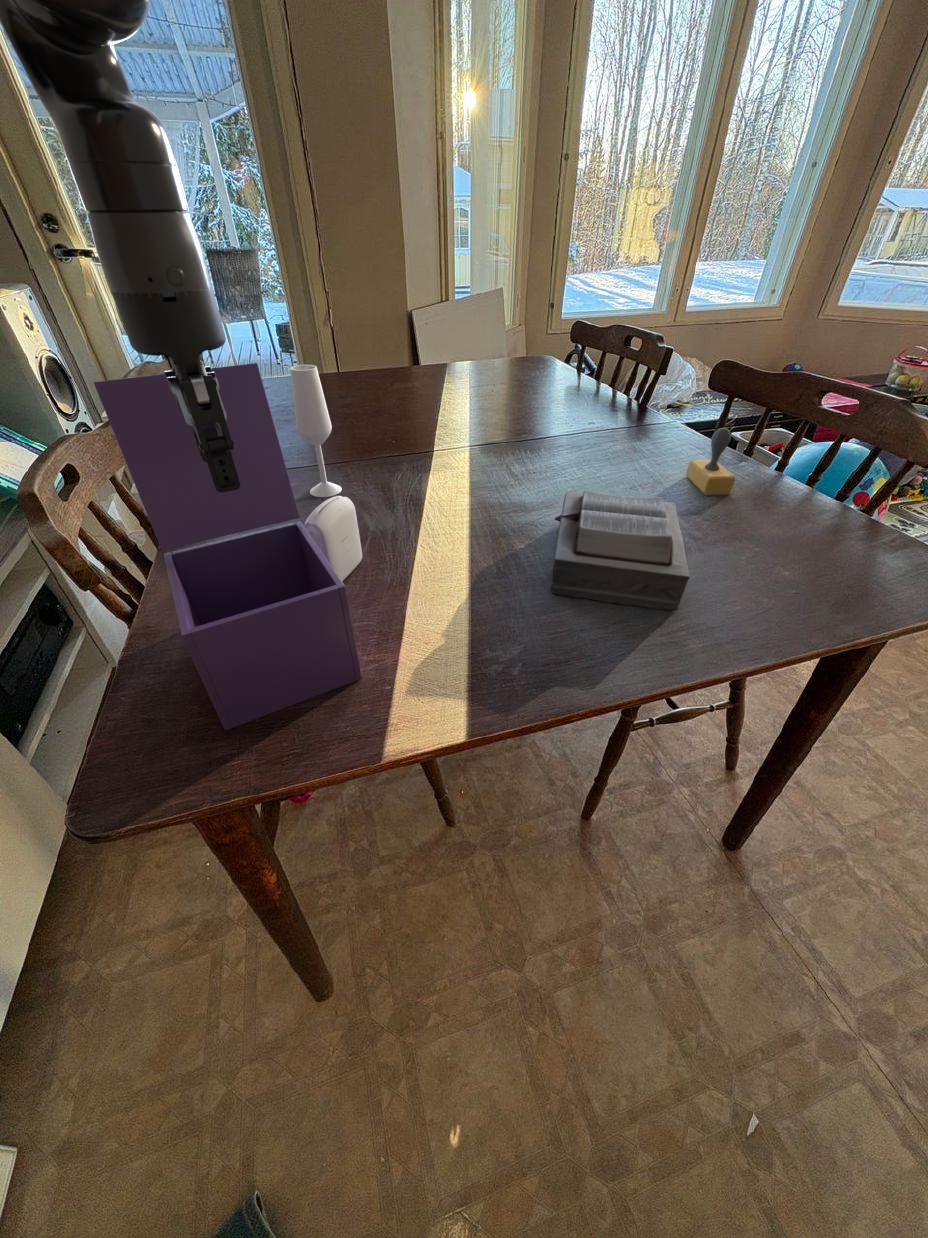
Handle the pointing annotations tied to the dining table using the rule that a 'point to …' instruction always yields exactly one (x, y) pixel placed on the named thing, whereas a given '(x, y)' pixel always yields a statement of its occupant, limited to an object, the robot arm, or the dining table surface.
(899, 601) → the dining table surface
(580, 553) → the bible
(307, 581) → the box
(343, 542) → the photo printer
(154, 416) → the lid
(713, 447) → the rubber stamp
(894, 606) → the dining table surface
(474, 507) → the dining table surface
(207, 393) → the robot arm
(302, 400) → the champagne flute
